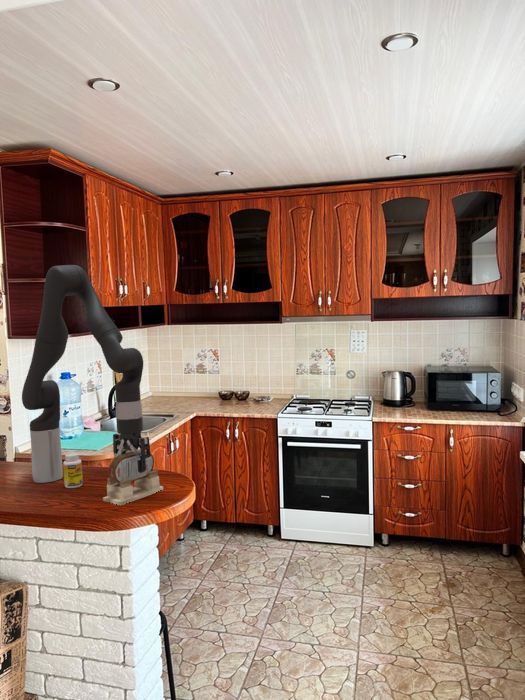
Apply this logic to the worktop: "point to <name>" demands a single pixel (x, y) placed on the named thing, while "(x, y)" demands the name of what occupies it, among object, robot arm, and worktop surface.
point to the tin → (128, 467)
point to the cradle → (132, 489)
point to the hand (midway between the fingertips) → (132, 470)
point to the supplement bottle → (72, 471)
